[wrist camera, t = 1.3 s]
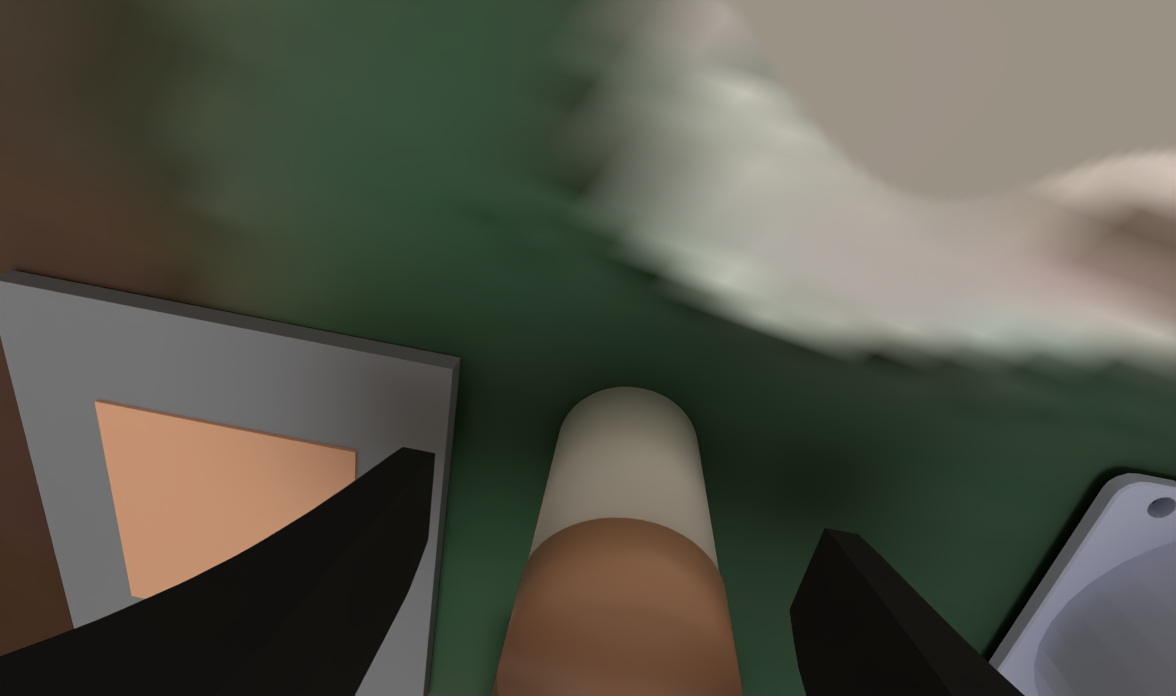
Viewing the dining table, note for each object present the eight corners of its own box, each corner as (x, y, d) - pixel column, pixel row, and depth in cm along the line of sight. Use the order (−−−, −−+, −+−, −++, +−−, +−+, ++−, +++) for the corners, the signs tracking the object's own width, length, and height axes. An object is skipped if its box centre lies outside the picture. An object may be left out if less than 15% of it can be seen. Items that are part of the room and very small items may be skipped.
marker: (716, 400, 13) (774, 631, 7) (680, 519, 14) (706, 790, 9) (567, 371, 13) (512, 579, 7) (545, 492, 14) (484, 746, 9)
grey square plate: (460, 357, 13) (451, 371, 12) (428, 692, 17) (420, 715, 17) (13, 270, 13) (-19, 279, 12) (95, 626, 17) (74, 646, 17)
